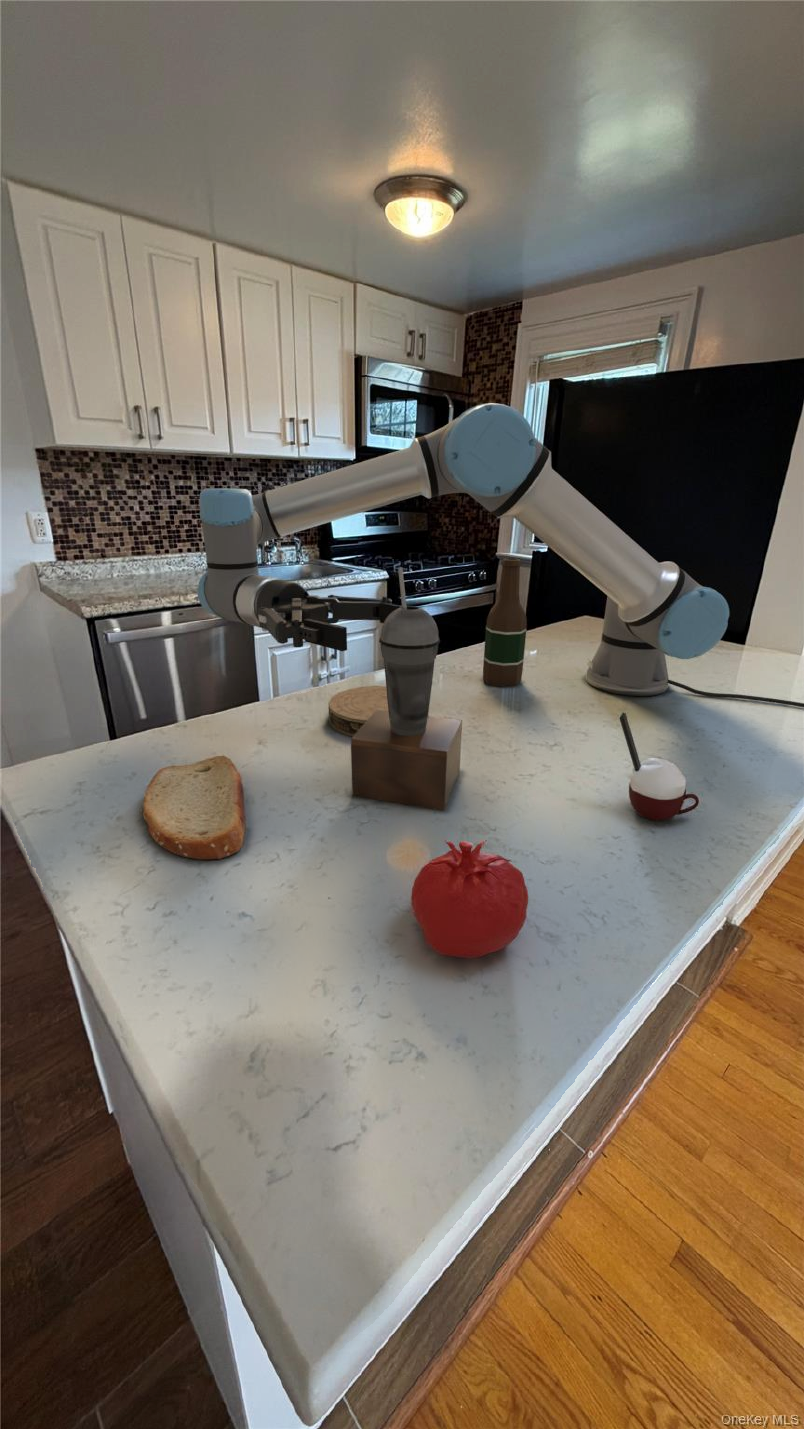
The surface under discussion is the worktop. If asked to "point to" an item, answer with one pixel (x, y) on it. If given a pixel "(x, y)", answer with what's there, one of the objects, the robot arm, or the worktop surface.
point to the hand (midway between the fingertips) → (384, 628)
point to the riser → (406, 762)
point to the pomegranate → (469, 901)
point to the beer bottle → (505, 631)
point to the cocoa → (655, 784)
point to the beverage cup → (408, 665)
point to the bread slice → (197, 809)
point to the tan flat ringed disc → (356, 707)
